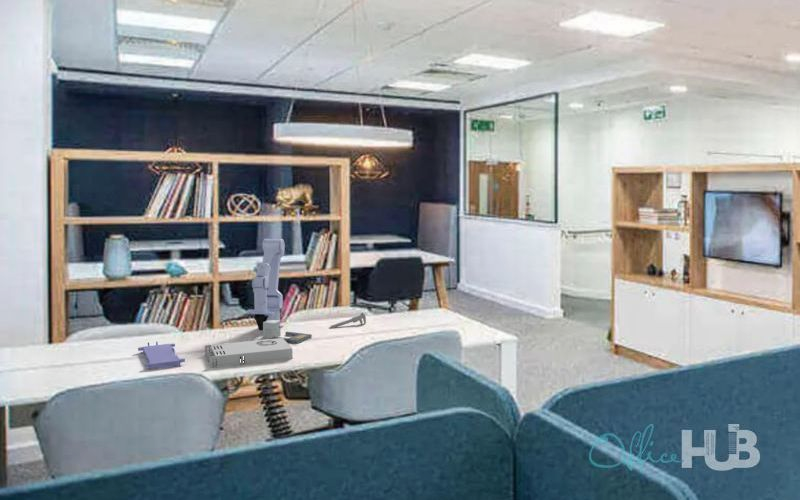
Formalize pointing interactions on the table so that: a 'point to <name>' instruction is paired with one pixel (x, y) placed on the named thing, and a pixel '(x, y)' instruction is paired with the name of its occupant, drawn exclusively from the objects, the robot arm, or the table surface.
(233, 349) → the power supply unit
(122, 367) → the table surface
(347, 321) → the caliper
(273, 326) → the skincare box
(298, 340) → the u bracket
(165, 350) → the computer part
